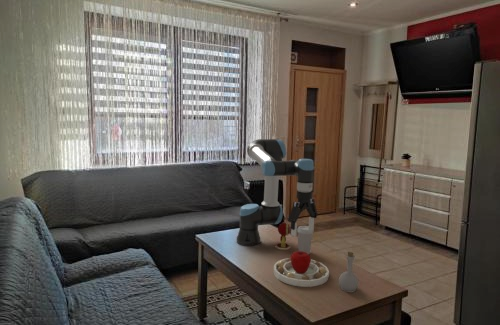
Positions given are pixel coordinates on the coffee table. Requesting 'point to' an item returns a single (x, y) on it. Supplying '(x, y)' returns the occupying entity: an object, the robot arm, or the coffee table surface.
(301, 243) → the coffee cup
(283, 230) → the figurine
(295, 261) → the apple
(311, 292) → the coffee table surface
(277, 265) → the bead tray
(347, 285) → the potion bottle
